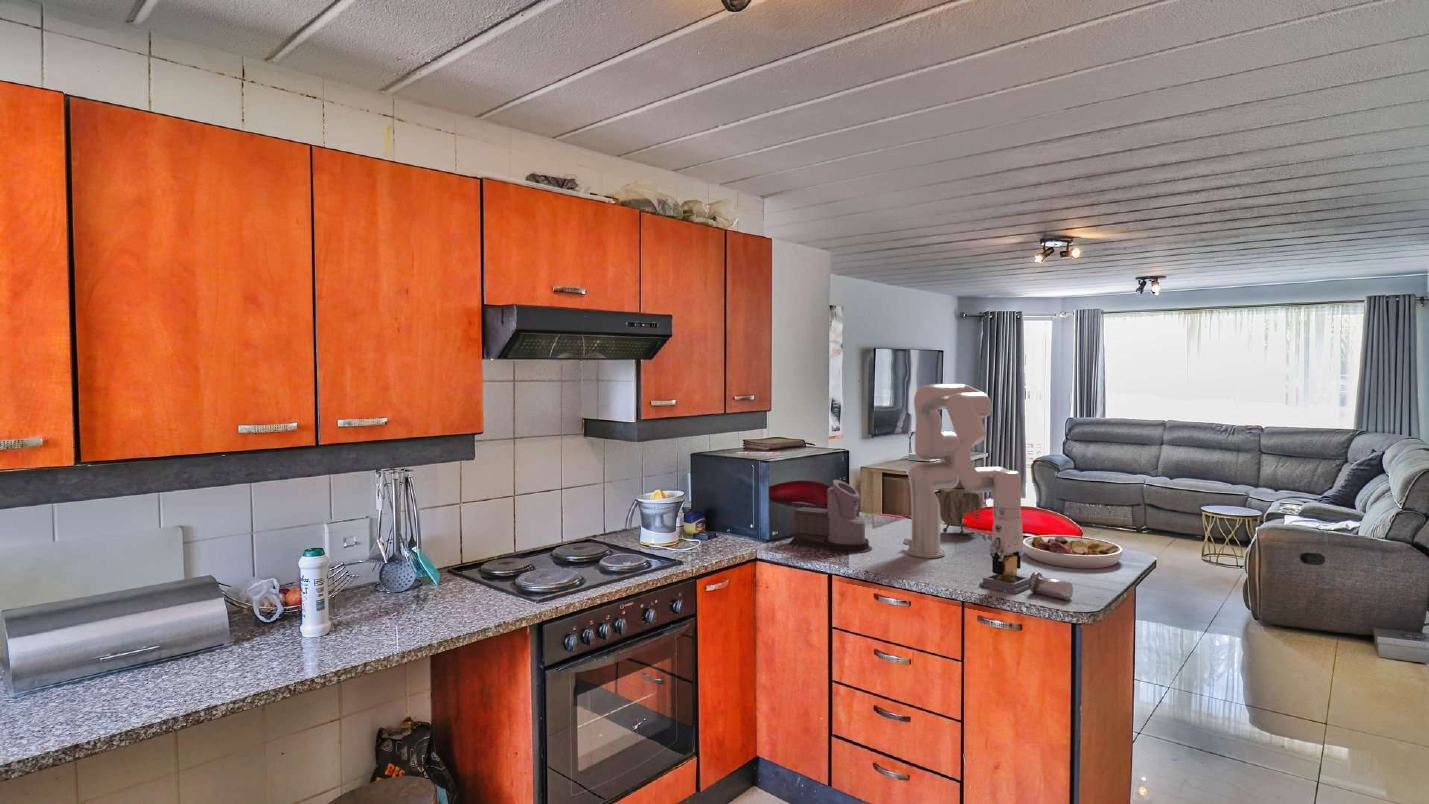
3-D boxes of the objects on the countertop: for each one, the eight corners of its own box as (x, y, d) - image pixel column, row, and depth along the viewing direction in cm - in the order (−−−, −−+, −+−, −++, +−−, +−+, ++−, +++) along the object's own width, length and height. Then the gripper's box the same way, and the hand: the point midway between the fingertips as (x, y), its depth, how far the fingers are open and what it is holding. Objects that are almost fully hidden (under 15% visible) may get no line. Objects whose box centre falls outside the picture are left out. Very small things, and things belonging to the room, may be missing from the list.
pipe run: (1028, 594, 209) (1028, 573, 209) (1038, 590, 213) (1038, 570, 213) (1064, 602, 201) (1064, 581, 201) (1073, 597, 205) (1073, 577, 205)
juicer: (879, 546, 269) (878, 479, 268) (862, 556, 255) (861, 485, 254) (804, 537, 285) (803, 474, 284) (784, 545, 272) (784, 479, 271)
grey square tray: (979, 586, 218) (979, 577, 218) (998, 578, 225) (998, 570, 225) (1015, 594, 209) (1015, 585, 209) (1034, 586, 216) (1034, 578, 216)
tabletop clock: (976, 531, 291) (976, 468, 290) (983, 536, 282) (983, 471, 281) (939, 531, 292) (939, 468, 291) (944, 536, 283) (944, 471, 282)
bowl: (1040, 544, 269) (1041, 523, 269) (1133, 558, 249) (1133, 534, 248) (1008, 560, 247) (1008, 537, 247) (1106, 576, 227) (1107, 551, 226)
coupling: (992, 582, 218) (992, 555, 217) (1002, 579, 221) (1002, 552, 221) (1010, 586, 213) (1010, 558, 213) (1020, 582, 217) (1020, 555, 217)
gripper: (1003, 518, 208) (1003, 579, 208) (1033, 510, 219) (1033, 567, 220) (979, 514, 213) (979, 573, 214) (1009, 507, 225) (1009, 563, 225)
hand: (1006, 570), depth 217 cm, fingers open, 9 cm apart
